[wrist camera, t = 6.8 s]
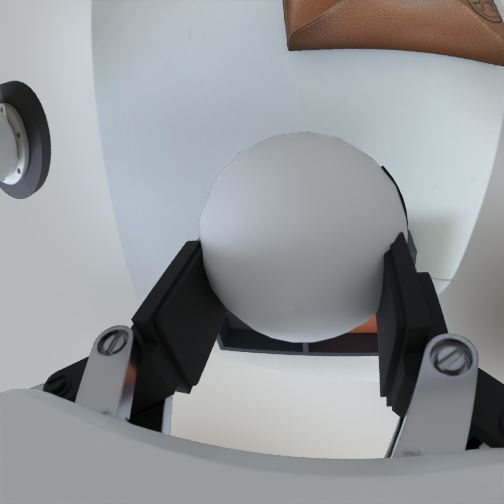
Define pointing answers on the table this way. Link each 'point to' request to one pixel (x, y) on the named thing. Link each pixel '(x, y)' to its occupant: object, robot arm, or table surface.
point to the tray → (348, 344)
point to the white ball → (301, 236)
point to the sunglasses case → (398, 26)
